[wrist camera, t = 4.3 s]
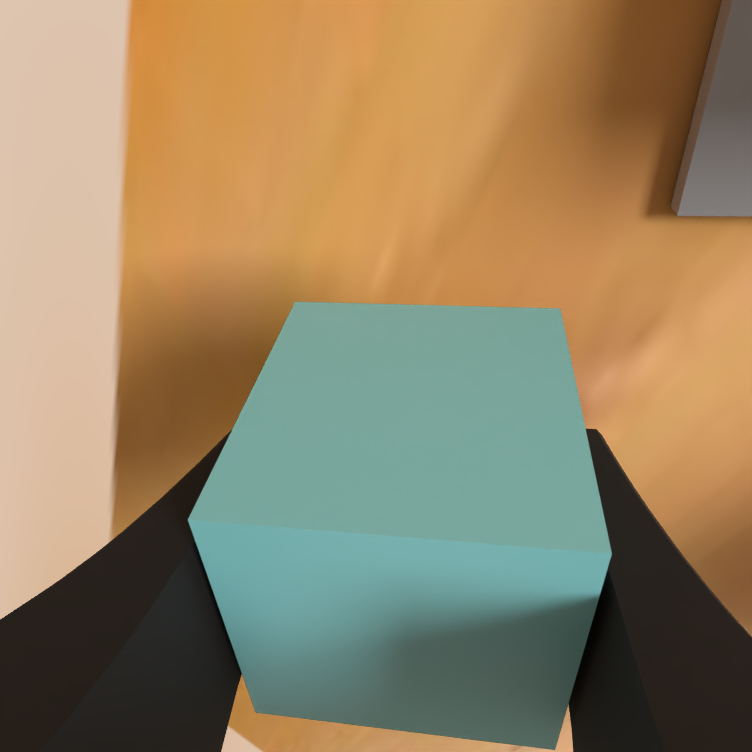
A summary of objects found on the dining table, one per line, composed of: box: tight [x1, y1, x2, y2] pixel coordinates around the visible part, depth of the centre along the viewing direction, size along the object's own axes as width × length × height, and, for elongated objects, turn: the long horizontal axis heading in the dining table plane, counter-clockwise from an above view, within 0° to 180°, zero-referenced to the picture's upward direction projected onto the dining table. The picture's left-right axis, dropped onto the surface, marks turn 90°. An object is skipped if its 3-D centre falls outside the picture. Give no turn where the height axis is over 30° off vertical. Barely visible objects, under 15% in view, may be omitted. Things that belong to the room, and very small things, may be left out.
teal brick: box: [188, 302, 612, 750], centre depth 10 cm, size 5×5×5 cm
